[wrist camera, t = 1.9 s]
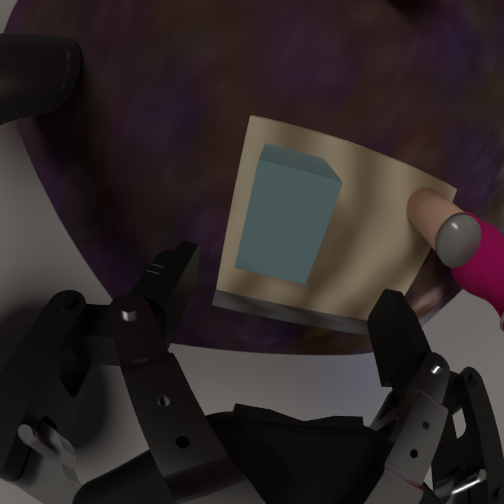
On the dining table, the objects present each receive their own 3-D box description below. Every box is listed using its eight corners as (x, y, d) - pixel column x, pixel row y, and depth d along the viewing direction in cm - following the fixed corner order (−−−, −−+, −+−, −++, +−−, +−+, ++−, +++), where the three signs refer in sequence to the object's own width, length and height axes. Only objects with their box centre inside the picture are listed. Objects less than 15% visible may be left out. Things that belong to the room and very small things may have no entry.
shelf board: (218, 286, 30) (211, 305, 27) (252, 115, 20) (247, 116, 18) (379, 319, 30) (385, 338, 27) (448, 184, 21) (465, 195, 18)
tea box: (246, 223, 24) (234, 268, 18) (265, 143, 20) (258, 159, 14) (301, 236, 24) (307, 284, 18) (325, 159, 20) (345, 183, 14)
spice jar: (398, 221, 22) (430, 261, 16) (415, 179, 20) (455, 209, 14) (431, 232, 22) (464, 272, 16) (447, 194, 20) (488, 226, 14)
